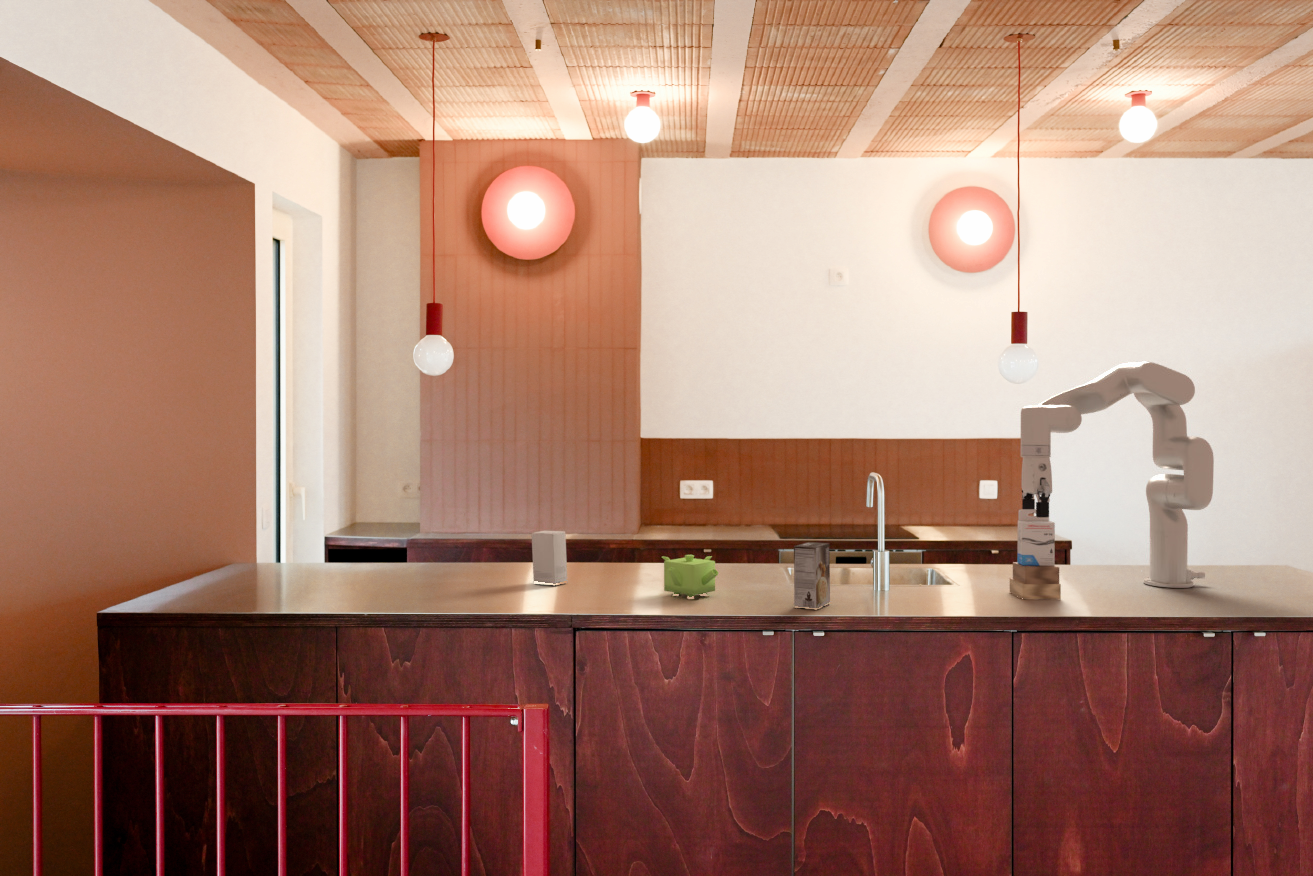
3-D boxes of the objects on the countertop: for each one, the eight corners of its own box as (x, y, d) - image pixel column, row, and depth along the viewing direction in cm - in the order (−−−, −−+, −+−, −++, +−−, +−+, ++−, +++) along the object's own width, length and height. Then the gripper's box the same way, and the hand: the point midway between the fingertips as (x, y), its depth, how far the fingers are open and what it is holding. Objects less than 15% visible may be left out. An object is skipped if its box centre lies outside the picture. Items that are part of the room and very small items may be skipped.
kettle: (661, 591, 265) (661, 551, 265) (711, 590, 266) (711, 550, 266) (665, 601, 250) (665, 559, 250) (718, 600, 251) (718, 558, 251)
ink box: (1021, 566, 252) (1021, 510, 251) (1017, 563, 257) (1016, 509, 256) (1055, 566, 251) (1055, 510, 250) (1049, 563, 256) (1049, 509, 255)
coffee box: (807, 602, 248) (807, 541, 247) (830, 604, 244) (830, 543, 244) (793, 608, 240) (793, 545, 239) (817, 611, 236) (816, 547, 236)
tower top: (1045, 578, 258) (1045, 562, 258) (1059, 584, 249) (1059, 567, 249) (1012, 578, 258) (1012, 562, 258) (1025, 584, 249) (1025, 567, 249)
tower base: (1046, 594, 259) (1046, 578, 259) (1060, 601, 249) (1060, 584, 249) (1009, 594, 259) (1009, 578, 259) (1022, 601, 249) (1022, 584, 249)
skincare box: (567, 583, 278) (567, 531, 277) (553, 587, 272) (553, 533, 272) (545, 581, 282) (545, 529, 282) (531, 584, 277) (530, 531, 276)
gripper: (1062, 453, 245) (1062, 518, 245) (1037, 450, 262) (1036, 512, 262) (1033, 453, 245) (1033, 518, 245) (1009, 450, 262) (1009, 512, 262)
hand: (1035, 515), depth 254 cm, fingers open, 9 cm apart
